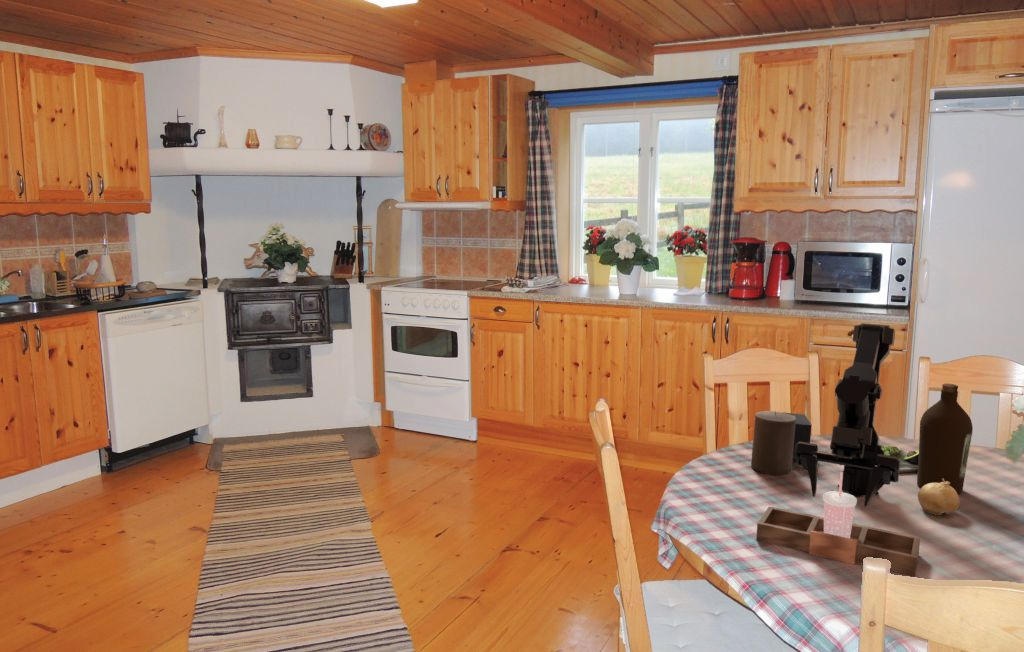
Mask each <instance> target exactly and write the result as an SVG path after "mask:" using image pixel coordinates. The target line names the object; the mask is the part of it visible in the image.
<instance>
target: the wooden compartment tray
mask: <svg viewBox="0 0 1024 652" xmlns="http://www.w3.org/2000/svg"><path fill="white" fill-rule="evenodd" d="M756 525H757V527H756V540H755V541H758V542H762V541H764V542H763V543H767V542H768V544H771V543H772V545H776V546H781V547H784V546H785V548H789V549H793V550H798V551H803V552H807V553H808V554H809V555H812V556H816V557H821V558H824V557H825V559H828V560H834V561H838V562H843V563H847V564H851V565H855V564H859V565H863V559H864V558H866V557H873V558H882V559H887V560H889V561H890V562H891V568H890V571H889V572H895V573H899V574H903V575H907V576H910V577H911V576H913V577H916V574H917V565H918V561H919V554H920V544H921V543H920V542H921V537H920V536H915V535H910V534H905V533H902V532H896V531H891V530H888V529H887V530H886V529H881V528H876V527H871V526H866V525H862V524H856V523H853V522H852V529H851V535H850V538H846V537H841V536H836V535H832V534H827V533H824V516H823V517H822V516H818V515H813V514H807V513H803V512H799V511H793V510H789V509H784V508H779V507H774V506H768V507H767V508H766V510H765V511H764V513H763V514H762V516H761V517H760V519H759V520H758V522H757V524H756ZM861 563H862V564H861Z"/></svg>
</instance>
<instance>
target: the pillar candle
mask: <svg viewBox="0 0 1024 652" xmlns="http://www.w3.org/2000/svg"><path fill="white" fill-rule="evenodd" d="M786 413H787V412H784V413H782V412H779V411H775V410H774V411H772V410H763V411H758V412H755V415H754V426H753V438H752V448H751V449H752V451H751V461H750V467H751V468H752V469H753V468H754V469H755V470H754V469H753V470H754V471H756V470H757V472H759V471H760V472H759V473H763V474H765V473H767V474H766V475H769V474H774V475H773V476H785V475H784V474H786V475H788V473H789V474H791V473H792V469H793V462H792V458H793V447H794V435H795V424H796V418H795V417H794V416H792V415H789V414H786Z"/></svg>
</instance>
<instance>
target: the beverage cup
mask: <svg viewBox="0 0 1024 652" xmlns="http://www.w3.org/2000/svg"><path fill="white" fill-rule="evenodd" d="M842 480H843V472H842V471H840V472H839V484H838V485H839V487H838V491H834V490H832V491H826V492H824V493H823V494H822V500H823V518H824V533H827V534H832V535H836V536H841V537H846V538H850V535H851V529H852V523H853V520H854V514H855V509H856V505H857V504H858V498H857V497H856V496H853V495H851V494H850V493H848V492H845V491H844V492H843V491H842Z"/></svg>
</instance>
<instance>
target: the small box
mask: <svg viewBox="0 0 1024 652" xmlns="http://www.w3.org/2000/svg"><path fill="white" fill-rule="evenodd" d="M781 413H786V414H789V415H792V416H794V417H795V418H796V424H795V435H794V447H793V458H792V463H796V460H795V455H794V449H795V445H796V444H797V443H798V442H799V441H800V442H806V443H811V437H812V423H811V421H809V419H808V417H807V416H806V414H803V413H792V412H785V411H784V412H781Z"/></svg>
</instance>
